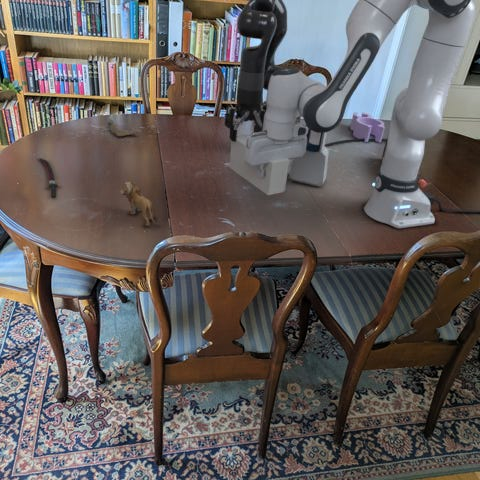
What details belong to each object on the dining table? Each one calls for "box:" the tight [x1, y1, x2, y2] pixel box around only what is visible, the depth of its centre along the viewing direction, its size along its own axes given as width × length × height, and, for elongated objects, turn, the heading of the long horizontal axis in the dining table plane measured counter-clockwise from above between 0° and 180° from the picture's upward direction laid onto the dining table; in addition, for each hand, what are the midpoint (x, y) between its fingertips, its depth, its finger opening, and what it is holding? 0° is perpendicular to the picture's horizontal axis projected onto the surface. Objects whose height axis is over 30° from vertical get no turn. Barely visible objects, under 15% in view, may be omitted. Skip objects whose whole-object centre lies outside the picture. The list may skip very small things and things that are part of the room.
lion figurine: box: [119, 181, 159, 227], centre depth 134 cm, size 15×5×9 cm, turn 50°
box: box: [228, 134, 290, 196], centre depth 142 cm, size 21×6×10 cm, turn 34°
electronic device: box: [288, 124, 330, 188], centre depth 159 cm, size 12×8×30 cm, turn 71°
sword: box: [40, 158, 59, 198], centre depth 151 cm, size 31×3×1 cm, turn 26°
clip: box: [349, 112, 386, 143], centre depth 214 cm, size 20×12×7 cm, turn 11°
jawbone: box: [108, 119, 142, 137], centre depth 191 cm, size 9×20×2 cm, turn 50°
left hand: (244, 139), depth 144 cm, fingers open, 8 cm apart
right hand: (272, 174), depth 137 cm, fingers closed on box, 6 cm apart
